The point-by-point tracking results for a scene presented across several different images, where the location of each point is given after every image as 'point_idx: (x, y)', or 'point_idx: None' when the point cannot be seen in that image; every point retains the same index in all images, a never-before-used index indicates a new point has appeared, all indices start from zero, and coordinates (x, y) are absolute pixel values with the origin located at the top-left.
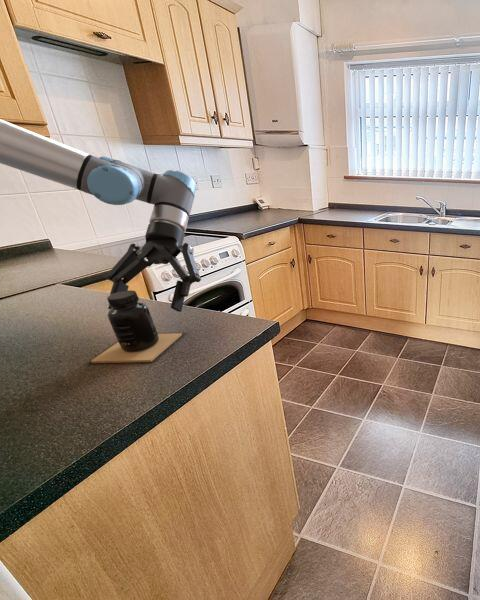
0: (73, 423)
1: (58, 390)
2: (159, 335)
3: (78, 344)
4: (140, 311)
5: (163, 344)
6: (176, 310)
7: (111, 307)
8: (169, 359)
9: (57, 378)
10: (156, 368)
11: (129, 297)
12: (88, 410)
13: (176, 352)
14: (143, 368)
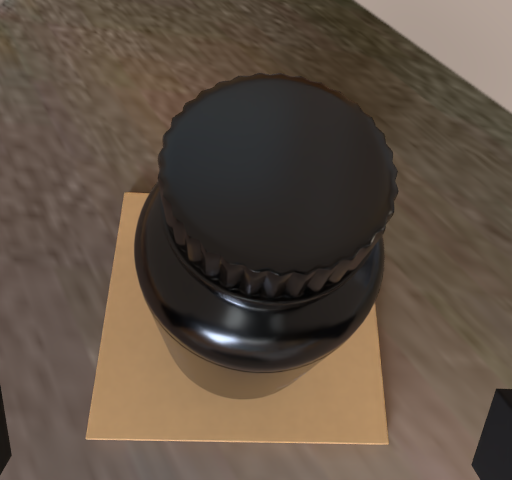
0: None
1: (334, 81)
2: (204, 416)
3: None
4: (144, 204)
5: (131, 315)
6: (4, 434)
7: (503, 395)
8: (58, 210)
9: (397, 134)
10: (84, 157)
11: (174, 123)
12: (177, 5)
13: (49, 261)
14: (135, 161)
